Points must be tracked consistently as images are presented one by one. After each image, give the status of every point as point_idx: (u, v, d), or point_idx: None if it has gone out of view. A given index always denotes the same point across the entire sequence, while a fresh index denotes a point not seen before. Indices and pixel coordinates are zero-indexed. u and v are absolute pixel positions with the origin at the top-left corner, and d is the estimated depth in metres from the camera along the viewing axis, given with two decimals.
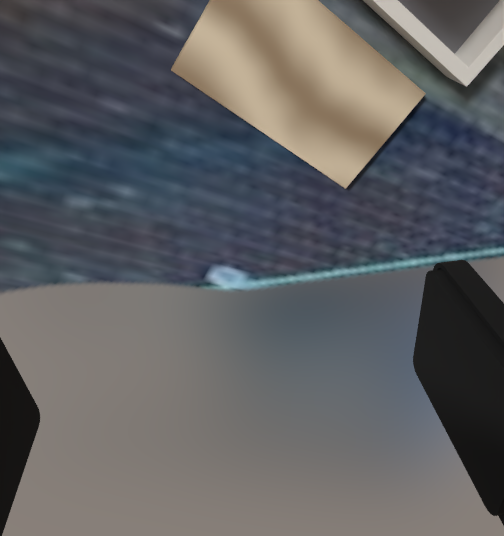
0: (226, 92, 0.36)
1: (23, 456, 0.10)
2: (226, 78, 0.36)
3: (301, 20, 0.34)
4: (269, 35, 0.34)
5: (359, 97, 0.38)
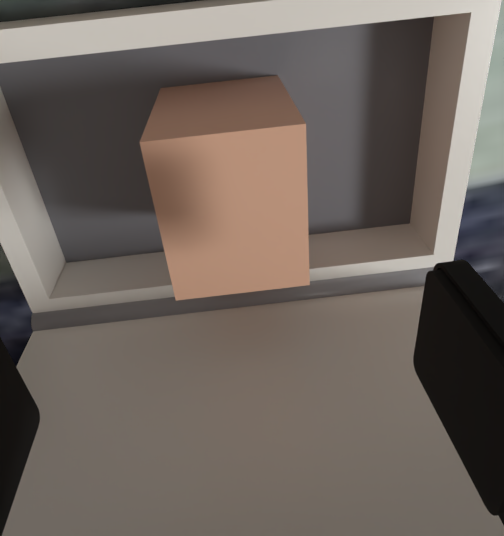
0: None
1: (23, 456, 0.10)
2: None
3: None
4: None
5: None
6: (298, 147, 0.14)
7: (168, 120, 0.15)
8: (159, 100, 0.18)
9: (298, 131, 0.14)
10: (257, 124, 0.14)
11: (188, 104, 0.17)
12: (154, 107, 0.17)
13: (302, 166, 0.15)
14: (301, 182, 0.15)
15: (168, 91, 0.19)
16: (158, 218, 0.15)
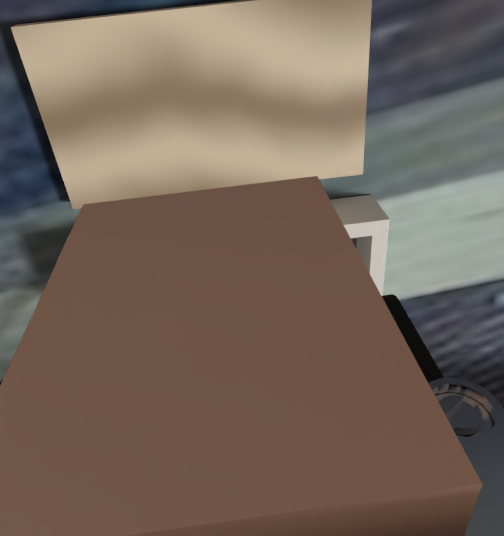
0: (287, 19, 0.24)
1: None
2: (298, 36, 0.24)
3: (263, 160, 0.28)
4: (283, 121, 0.27)
5: (132, 148, 0.27)
6: (444, 529, 0.05)
7: (58, 380, 0.06)
8: (66, 258, 0.08)
9: (453, 501, 0.04)
10: (313, 460, 0.04)
11: (126, 287, 0.07)
12: (46, 292, 0.07)
13: None
14: None
15: (95, 220, 0.09)
16: None
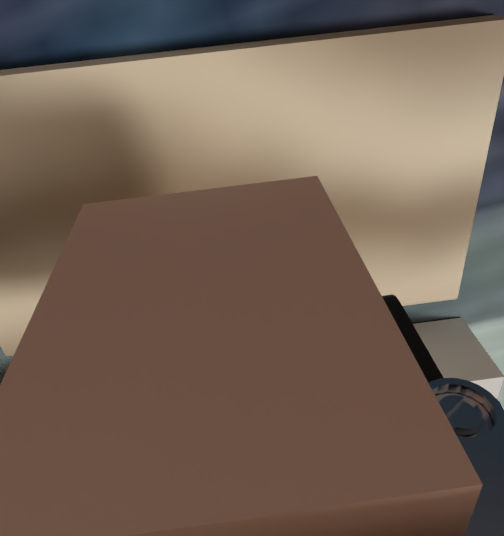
0: (359, 73, 0.13)
1: None
2: (377, 101, 0.14)
3: None
4: None
5: None
6: (444, 529, 0.05)
7: (57, 381, 0.06)
8: (66, 258, 0.08)
9: (453, 501, 0.04)
10: (314, 461, 0.04)
11: (125, 287, 0.07)
12: (45, 292, 0.07)
13: None
14: None
15: (94, 219, 0.09)
16: None
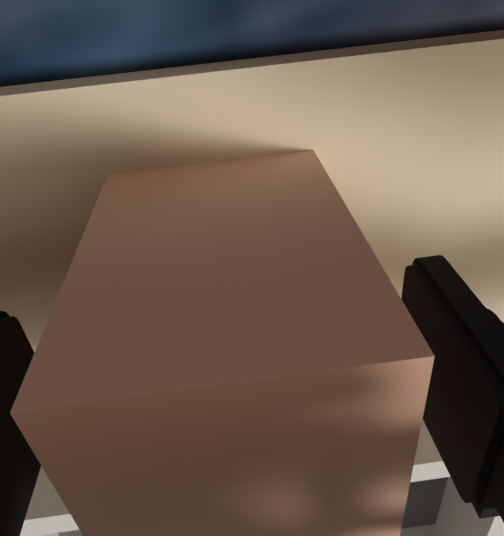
0: (392, 97, 0.11)
1: None
2: (412, 131, 0.11)
3: None
4: None
5: None
6: (408, 398, 0.06)
7: (100, 299, 0.07)
8: (97, 215, 0.09)
9: (413, 371, 0.06)
10: (307, 345, 0.06)
11: (151, 235, 0.08)
12: (83, 240, 0.09)
13: (410, 427, 0.06)
14: (402, 450, 0.07)
15: (119, 186, 0.10)
16: (80, 524, 0.07)
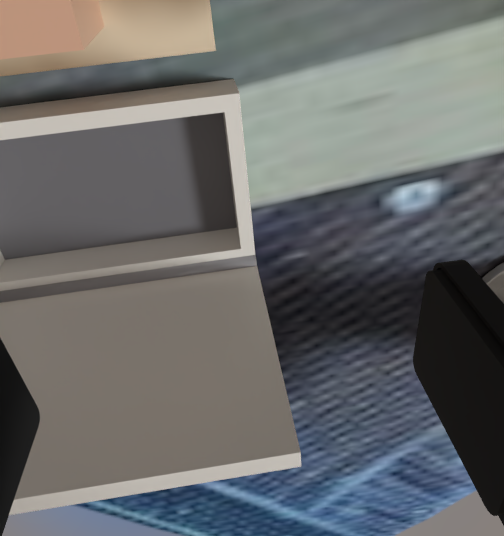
0: None
1: (23, 456, 0.10)
2: None
3: (107, 32, 0.27)
4: None
5: None
6: None
7: None
8: None
9: None
10: None
11: None
12: None
13: None
14: None
15: None
16: None
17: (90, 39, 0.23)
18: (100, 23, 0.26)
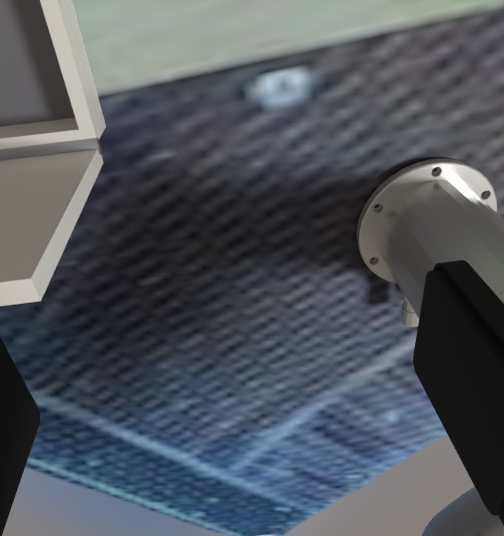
0: None
1: (23, 456, 0.10)
2: None
3: None
4: None
5: None
6: None
7: None
8: None
9: None
10: None
11: None
12: None
13: None
14: None
15: None
16: None
17: None
18: None
